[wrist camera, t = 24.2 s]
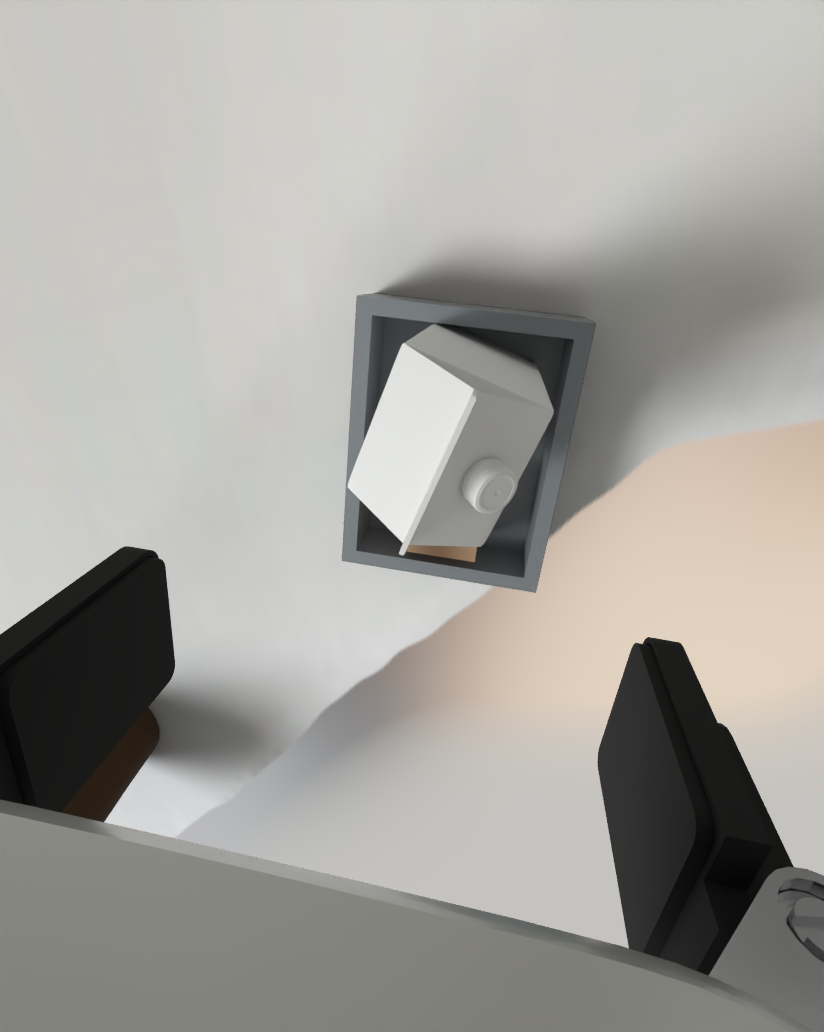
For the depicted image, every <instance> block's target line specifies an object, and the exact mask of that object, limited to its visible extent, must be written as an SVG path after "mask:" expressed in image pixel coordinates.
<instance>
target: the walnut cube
mask: <svg viewBox="0 0 824 1032" xmlns="http://www.w3.org/2000/svg"><path fill="white" fill-rule="evenodd" d="M406 551H407V552H413V553H419V554H426V555H432V556H438V557H445V558H451V559H457V560H463V561H470V562H475V557H476V551H477V547H462V546H427V545H408V547H407V549H406Z"/></svg>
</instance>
